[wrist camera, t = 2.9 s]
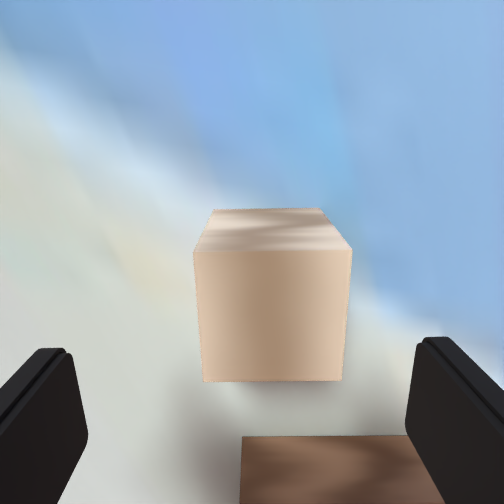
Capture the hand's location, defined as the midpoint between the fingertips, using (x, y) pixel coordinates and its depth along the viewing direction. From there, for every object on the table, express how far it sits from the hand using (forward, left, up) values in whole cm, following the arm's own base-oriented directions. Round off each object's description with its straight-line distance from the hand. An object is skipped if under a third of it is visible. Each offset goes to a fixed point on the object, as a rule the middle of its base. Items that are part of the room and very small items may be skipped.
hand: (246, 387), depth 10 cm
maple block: (-1, -1, -9) cm, 9 cm away
